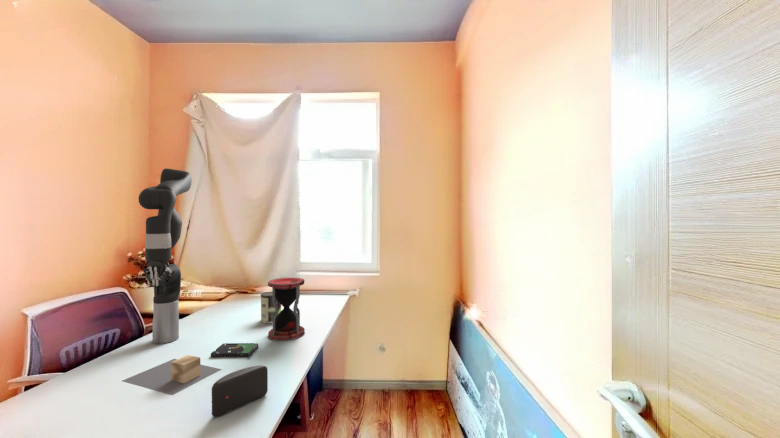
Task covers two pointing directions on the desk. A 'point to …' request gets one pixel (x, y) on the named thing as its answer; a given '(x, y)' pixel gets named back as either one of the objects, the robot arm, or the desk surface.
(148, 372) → the rubber mat
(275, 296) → the hourglass
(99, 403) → the desk surface
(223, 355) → the disk drive
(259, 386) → the leaning round-cornered charcoal block
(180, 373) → the oak cube
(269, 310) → the coffee can
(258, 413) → the desk surface
